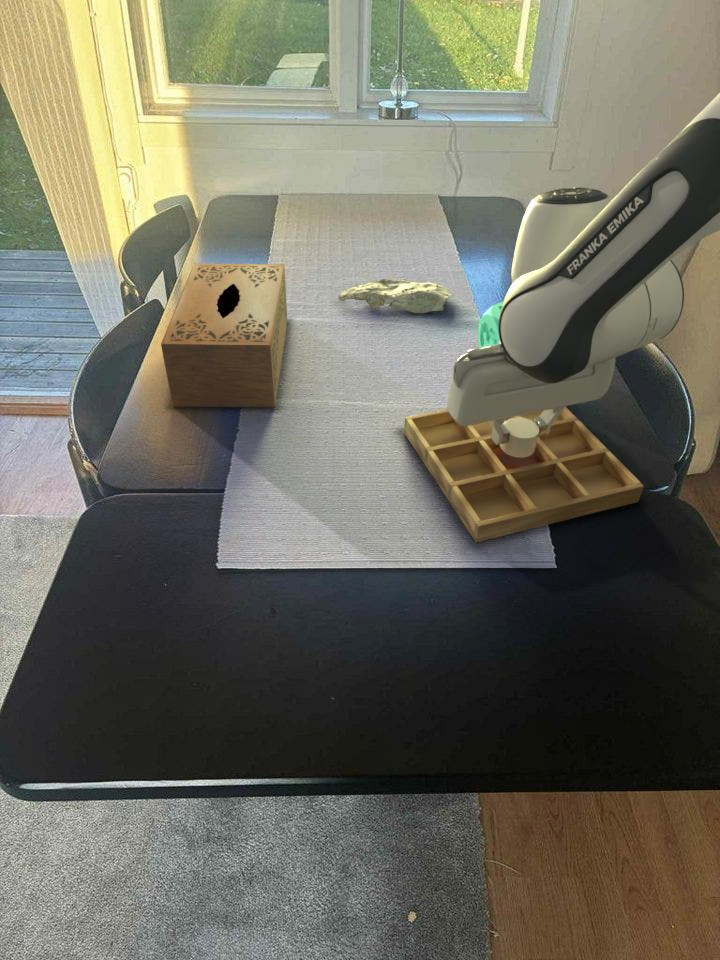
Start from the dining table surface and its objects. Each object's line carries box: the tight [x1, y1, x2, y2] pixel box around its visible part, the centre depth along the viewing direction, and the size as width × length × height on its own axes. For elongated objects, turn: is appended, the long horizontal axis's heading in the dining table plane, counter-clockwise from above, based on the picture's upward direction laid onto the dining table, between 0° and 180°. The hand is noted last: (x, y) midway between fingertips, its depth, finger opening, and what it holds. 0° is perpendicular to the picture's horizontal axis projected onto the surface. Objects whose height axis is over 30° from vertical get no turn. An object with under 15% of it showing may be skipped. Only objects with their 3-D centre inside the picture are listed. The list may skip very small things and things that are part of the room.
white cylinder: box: [500, 417, 539, 458], centre depth 87 cm, size 4×4×3 cm
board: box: [403, 406, 645, 543], centre depth 89 cm, size 22×22×3 cm
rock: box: [337, 277, 452, 314], centre depth 126 cm, size 19×11×2 cm, turn 75°
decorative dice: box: [477, 301, 504, 348], centre depth 108 cm, size 8×8×8 cm
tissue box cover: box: [160, 262, 288, 408], centre depth 106 cm, size 26×14×10 cm, turn 1°
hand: (520, 436), depth 87 cm, fingers closed on white cylinder, 4 cm apart
